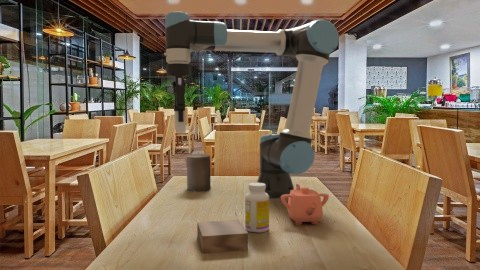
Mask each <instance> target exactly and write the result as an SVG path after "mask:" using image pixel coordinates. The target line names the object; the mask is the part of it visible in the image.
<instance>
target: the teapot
mask: <svg viewBox="0 0 480 270" xmlns="http://www.w3.org/2000/svg"><path fill="white" fill-rule="evenodd" d="M295 187H296V189H294V190H291V191H290V194H285V195H282V196H281V197H280V201H281V203H282V204H283V205H284V206H285V207H286V208H287V213H288V216H289V218H290V220H293V221H295V225H297V226H302V225H303V222H304V223H309V222H310V223H311V225H318V224H319V222H321V221H322V219H323V216H324V215H323V212H324V211H323V210H324V209H323V207H324V206H325V204H327V202H328V201H329V199H330V196H329V194H328V193H318V192H317V191H316V190H313V189H310V188H309V187H307V186H306V187H305V186H304V187H301V186H300V184H299V183H296V184H295ZM286 198H287V199H288V200H287V199H286ZM322 198H323V199H322ZM287 201H288V202H287Z"/></svg>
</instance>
